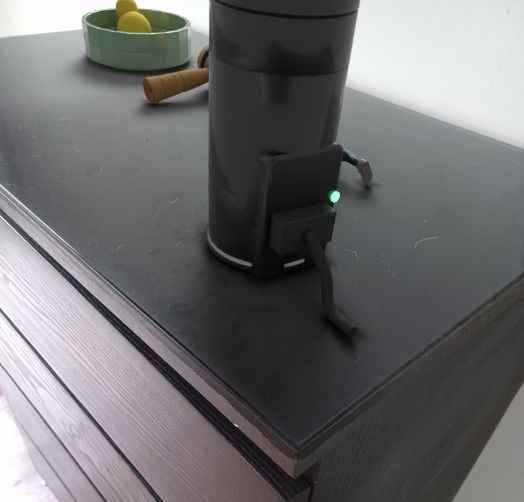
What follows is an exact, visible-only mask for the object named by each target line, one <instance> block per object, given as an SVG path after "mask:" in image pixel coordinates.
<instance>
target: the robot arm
mask: <svg viewBox="0 0 524 502" xmlns="http://www.w3.org/2000/svg"><path fill="white" fill-rule="evenodd" d="M208 3H209V4H208V44H209V82H208V150H207V151H208V162H207V163H208V165H207V166H208V168H207V169H208V173H207V174H208V175H207V178H208V181H207V183H208V185H207V187H208V188H207V189H208V191H207V192H208V193H207V196H208V197H207V199H208V224H207V228H206V243H207V246H208V248H209V250H210V251H211V253H212V254H213V255H214V256H215V257H216V258H217V259H219V260H220V261H221V262H223V263H225V264H226V265H228V266H231V267H234V268H235V269H238V270H242V271H246V272H249V273H251V274H253V275H254V276H255V277H256V279H258V280H264V279H268V278H272V277H276V276H278V275H282V274H285V273H286V274H287V273H289V272H293V271H296V270H297V271H298V270H300V269H304V268H306V267H310V266H313V265H315V266H316V270H317V272H318V276H319V281H320V299H321V305H322V308H323V311H324V312H325V314H326V316H327V318H328V320H330V321H331V322H332V323H333V324H334V326H335V327H337V328H338V329H340V330H341V331H342V332H343V333H345V334H346V335H347V336H348V337H354V336H356V334H357V333H358V331H359V327H357V326H356V325H355V324H354V323H353V322H352V321H351V320H350V319H348V318H347V317H345V316H344V315H343V314H342V313H341V312H340V311H339V309H338V308H337V306H336V303H335V300H334V281H333V273H332V270H331V266H330V264H329V261H328V258H327V255H326V251H327V246H328V244H329V243H331V242H332V239H333V233H334V229H335V223H336V218H337V210H336V209H335V208H334V207H335V203H336V202H337V201H338V200H339V199H340V196H341V195H340V192H339V191H337V190H338V185H339V180H340V174H341V168H342V162H343V161H342V158H343V152H344V149H343V148H344V146H343V145H342V144H341V143H339V142H337V138H338V132H339V126H340V122H341V115H342V108H343V104H344V97H345V92H346V87H347V86H346V85H347V79H348V74H349V73H348V72H349V67H350V62H351V57H352V50H353V45H354V39H355V34H356V27H357V22H358V15H359V9H360V7H361V6H360V5H361V0H208Z"/></svg>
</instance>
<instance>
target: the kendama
mask: <svg viewBox="0 0 524 502" xmlns="http://www.w3.org/2000/svg"><path fill="white" fill-rule="evenodd" d="M196 66H197V68H194V69H192V68H191V69H186V70H181V71H176V72H171V73H165V74H159V75H153V76H146V77H144V78H143V79H142V88H143V93H144V95H145V98H146V100H147V101H148V102H149V103H150V104H151V105H154V104H156V103H157V104H158V103H160V102H162V101H163V100H166V99H169V98H172V97H176V96H178V95H180V94H183V93H186V92H189V91H192V90H194V89H196V88H199V87H201V86H203V85H206V84H208V83H209V43H208V44H207V45H205V46H204V47H203V48H202V49H201V50H200V52H199V54H198V55H197V61H196Z"/></svg>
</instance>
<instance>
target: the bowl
mask: <svg viewBox="0 0 524 502" xmlns="http://www.w3.org/2000/svg"><path fill="white" fill-rule="evenodd" d="M137 8H138V13H140V14H142V15H143V16H144V17H145V18H146V19H147V20H148V22H149V24H150V27H151V32H152V33H130V32H121V31H117V24H118V21H119V19H120V18H119V16H118V15H117V12H116V7H112V8H104V9H103V8H102V9H97V10H93V11H89V12H86V13H84V14H83V15H82V16H81V25H82V33H83V34H82V35H83V40H84V46H85V55H86V56H87V57H88V58H89V59H90V60H91V61H92V62H94V63H95V62H96V63H98V64H100V65H104V66H107V67H109V68H113V69H118V70H124V71H132V72H155V71H163V70H169V69H172V68H175V67H179V66H181V65H185V64H186V63H188V62H189V61H190V60H191V58H192V23H191V21H190V19H188V18H187V17H185V16H183V15H180V14H178V13H174V12H171V11H166V10H161V9H152V8H144V7H143V8H141V7H137Z"/></svg>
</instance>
